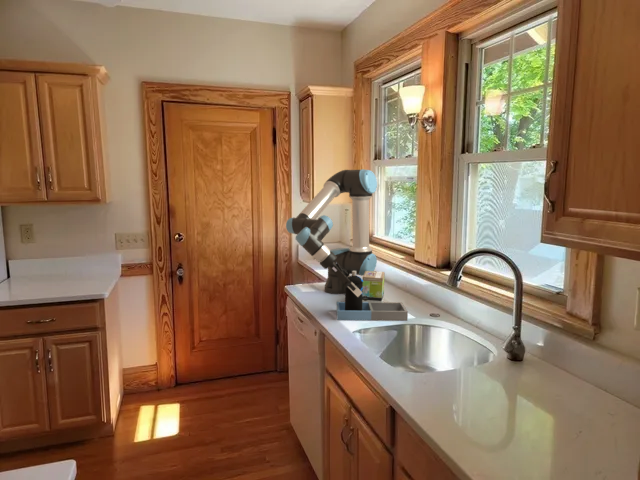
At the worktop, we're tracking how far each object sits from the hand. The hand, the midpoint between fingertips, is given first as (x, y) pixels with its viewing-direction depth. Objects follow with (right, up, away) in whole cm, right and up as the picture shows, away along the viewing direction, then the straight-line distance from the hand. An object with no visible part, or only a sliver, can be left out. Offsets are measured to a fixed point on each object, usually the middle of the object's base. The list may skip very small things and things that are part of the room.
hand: (358, 290), depth 191 cm
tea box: (+9, -9, +20) cm, 24 cm away
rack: (+5, -11, +1) cm, 12 cm away
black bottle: (-2, -11, +2) cm, 12 cm away
